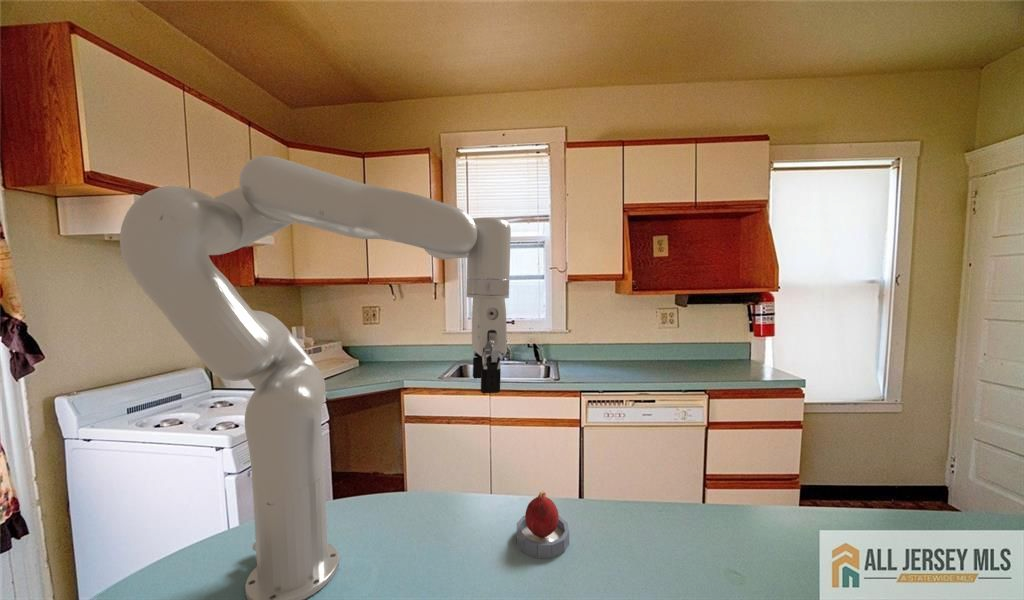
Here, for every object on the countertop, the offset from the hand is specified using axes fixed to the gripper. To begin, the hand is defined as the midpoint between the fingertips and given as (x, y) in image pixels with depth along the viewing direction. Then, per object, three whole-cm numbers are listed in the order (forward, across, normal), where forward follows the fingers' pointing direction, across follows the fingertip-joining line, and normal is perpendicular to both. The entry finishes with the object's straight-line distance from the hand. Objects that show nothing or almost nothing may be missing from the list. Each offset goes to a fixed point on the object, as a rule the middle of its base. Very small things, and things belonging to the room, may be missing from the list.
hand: (485, 384), depth 71 cm
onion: (+26, -6, -10) cm, 28 cm away
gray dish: (+26, -6, -10) cm, 29 cm away
